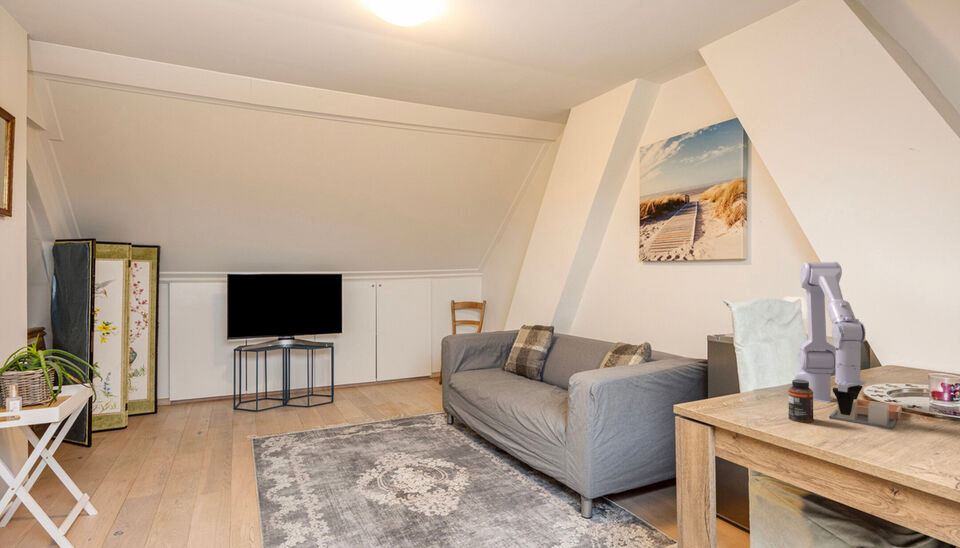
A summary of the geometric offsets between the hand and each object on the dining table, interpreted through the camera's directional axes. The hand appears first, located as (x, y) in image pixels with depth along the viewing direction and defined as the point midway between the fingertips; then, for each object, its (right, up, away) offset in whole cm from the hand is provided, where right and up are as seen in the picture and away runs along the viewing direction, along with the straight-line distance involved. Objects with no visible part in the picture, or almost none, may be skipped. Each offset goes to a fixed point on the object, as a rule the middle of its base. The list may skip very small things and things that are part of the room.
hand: (847, 412), depth 147 cm
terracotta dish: (+11, -2, +4) cm, 12 cm away
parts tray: (+2, -2, -2) cm, 4 cm away
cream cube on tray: (+5, -2, -5) cm, 7 cm away
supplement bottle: (-14, -2, -1) cm, 14 cm away
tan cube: (0, -1, 0) cm, 1 cm away
